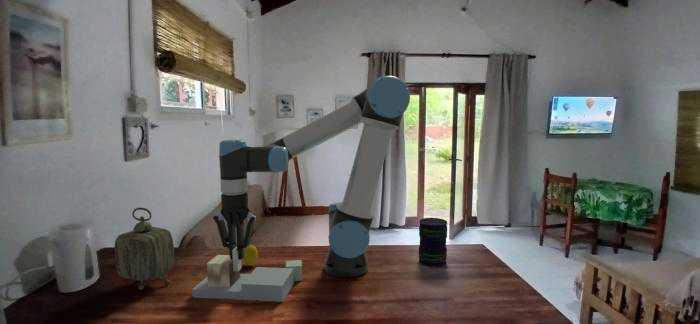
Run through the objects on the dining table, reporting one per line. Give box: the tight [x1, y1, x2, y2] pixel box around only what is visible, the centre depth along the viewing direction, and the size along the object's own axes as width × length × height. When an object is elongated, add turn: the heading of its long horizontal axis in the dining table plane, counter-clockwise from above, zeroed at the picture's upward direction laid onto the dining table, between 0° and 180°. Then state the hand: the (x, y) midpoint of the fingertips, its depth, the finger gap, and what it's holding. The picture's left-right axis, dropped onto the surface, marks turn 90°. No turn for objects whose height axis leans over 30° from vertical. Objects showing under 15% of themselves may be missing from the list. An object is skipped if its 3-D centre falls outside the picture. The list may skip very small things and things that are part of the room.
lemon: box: [241, 243, 259, 267], centre depth 130 cm, size 6×6×8 cm
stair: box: [191, 266, 295, 303], centre depth 111 cm, size 27×12×5 cm, turn 83°
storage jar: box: [418, 217, 448, 268], centre depth 132 cm, size 10×10×15 cm
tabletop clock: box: [114, 207, 175, 291], centre depth 113 cm, size 14×9×25 cm, turn 74°
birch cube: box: [206, 254, 241, 287], centre depth 112 cm, size 7×7×7 cm
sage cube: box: [285, 259, 303, 282], centre depth 120 cm, size 5×5×5 cm
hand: (237, 269), depth 111 cm, fingers closed
